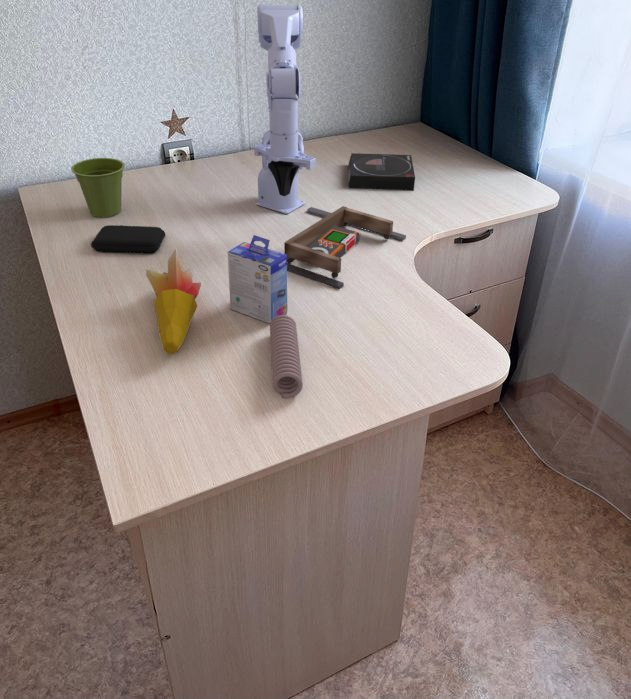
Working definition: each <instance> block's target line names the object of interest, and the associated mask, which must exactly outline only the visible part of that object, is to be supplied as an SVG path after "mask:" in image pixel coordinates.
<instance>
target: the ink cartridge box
mask: <svg viewBox="0 0 631 699" xmlns="http://www.w3.org/2000/svg"><path fill="white" fill-rule="evenodd" d="M270 241H271V240H270V239H268V238H264V237H261V236H258V235H255V234H253V235H252V238H251V241H250V242H248V241H247V242H246V241H243V242H242V243H240V244H238V245H236V246H234V247H233V248H231V249H230V250H228V251H227V267H228V268H227V269H228V286H229V290H228V291H229V308H230V310H232V311H236V312H238V313H240V314H244V315H246V316H248V317H252V318H254V319H256V320H260V321H262V322H265V323H267V324H270V322H271V320H272V319H273V318H274V317H276V316H279V315H286V314H287V313H288V271H287V254H285V252H284V253H283V252H280V251H276V250H273V249H270V248H269V246H270ZM255 242H261V243H262V244H263V245H265V246H264V247H263V246H261V245H258V244H256V243H255Z"/></svg>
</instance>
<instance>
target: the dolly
mask: <svg viewBox="0 0 631 699" xmlns="http://www.w3.org/2000/svg"><path fill="white" fill-rule="evenodd" d="M330 213H331V214H329V215H328V216H326V217H322V218H321V219H320V220H318V221H316V222H315V223H313V224H311V225H310V226H309V227H307V228H305V229H304V230H302V231H301V232H299V233H297V234H296V235H294V236H292V237H290V238H289V239H288V240H285V241H284V254H287V263H289V264H291V263H293V262H294V261H296V260H297V261H299V262H302V263H304V264H308V265H309V264H310V266H312V265H313V267H315V268H318V269H321V270H324V271H327V272H330V273H331V274H330V275H331V277H332V279H336V278H338V276H339V274H340V273H342V272H341V271H342V257H341V258H339V257H336V256H333V255H330V254H327V253H324V252H321V251H318V250H315V249H312V248H309V247H308V246H309V245H311V244H312V243H313V242H314V241H315V240H317V239H318V238H319V237H320V236H321V235H323V234H324V233H325V232H326V231H327V230H328V229H330V228H331V227H332V226H333V225H334V226H337V227H341V228H345V227H348V226H349V225H348V223H350V224H353V225H356V226H360V227H363V228H366V229H370V230H373V231H376V232H379V233H383V234H384V235H383V238H384V240H389V239H390V238H391V237H390V235H391V234H392V231H394V230H393V227H394V221H393V220H390V219H387V218H383V217H380V216H376V215H373V214H369V213H366V212H362V211H359V210H356V209H353V208H349V207H348V206H341V207H339V208H338V209H336V210H334V211H333V212H330Z"/></svg>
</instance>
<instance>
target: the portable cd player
mask: <svg viewBox="0 0 631 699" xmlns="http://www.w3.org/2000/svg"><path fill="white" fill-rule="evenodd" d="M347 176H348V177H347V178H348V179H347V186H348V188H349V189H350V190H351V189H352V190H378V191H379V190H380V191H382V190H383V191H408V192H409V191H412V192H413V191H415V183H416V182H415V181H416V174H415V168H414V164H413V158H412V155H411V154H391V153H390V154H389V153H361V152H360V153H357V152H356V153H354V152H352V153H351V155H350V158H349V161H348V175H347Z"/></svg>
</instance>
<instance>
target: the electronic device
mask: <svg viewBox="0 0 631 699" xmlns="http://www.w3.org/2000/svg"><path fill="white" fill-rule="evenodd" d="M359 242H360V232H359V231H355V230H353V229H348V228H345V227H344V228H341V227H337V226H334V225H333V226H332V227H331V228H330V229H328V230H327V231H326V232H325V233H324V234H323V235H321V236H320V237H319V238H318V239H317V240H315V241H314V242H313V243H312V244H311V245H309V246H308V247H309V248H312V249H315V250H318V251H321V252H324V253H327V254H330V255H333V256H336V257H339V258H341V259H342V257H343V256H345V255H346V254H348V253H349V252H350V251H351V250H353V249H354V247H356V245H357V243H359ZM308 265H310V264H308ZM310 266H311V267H312V266H313V265H310ZM313 267H314V266H313Z"/></svg>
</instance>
